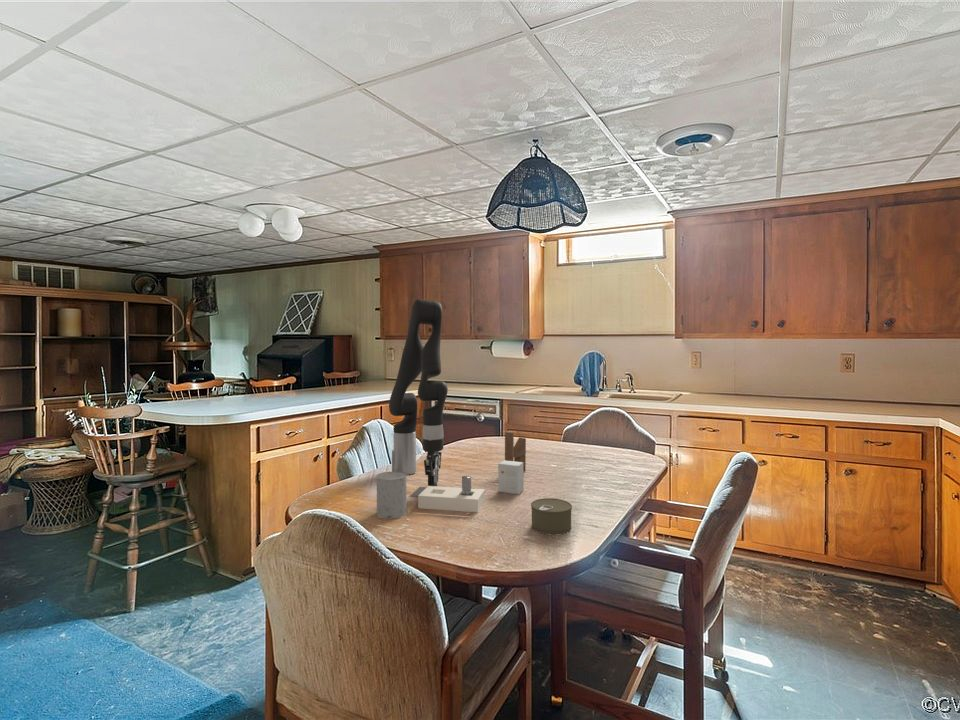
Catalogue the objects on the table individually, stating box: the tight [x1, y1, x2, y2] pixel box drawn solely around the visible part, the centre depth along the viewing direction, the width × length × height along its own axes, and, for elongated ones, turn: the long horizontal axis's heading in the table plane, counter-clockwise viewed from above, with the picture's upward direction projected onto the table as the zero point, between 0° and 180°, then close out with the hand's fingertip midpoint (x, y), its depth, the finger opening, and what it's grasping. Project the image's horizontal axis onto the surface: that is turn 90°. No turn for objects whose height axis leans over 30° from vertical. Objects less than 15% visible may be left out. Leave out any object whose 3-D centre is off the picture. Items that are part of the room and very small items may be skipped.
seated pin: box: [461, 475, 472, 496], centre depth 164 cm, size 3×3×10 cm
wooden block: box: [504, 430, 527, 473], centre depth 205 cm, size 4×11×18 cm, turn 137°
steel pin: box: [429, 465, 438, 486], centre depth 178 cm, size 3×3×10 cm
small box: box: [497, 459, 525, 495], centre depth 181 cm, size 8×6×10 cm
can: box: [530, 497, 573, 536], centre depth 146 cm, size 12×12×7 cm
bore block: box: [417, 485, 486, 514], centre depth 165 cm, size 20×11×4 cm, turn 78°
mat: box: [408, 486, 428, 498], centre depth 178 cm, size 14×12×1 cm
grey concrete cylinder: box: [375, 470, 408, 520], centre depth 158 cm, size 10×10×12 cm
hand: (433, 483), depth 178 cm, fingers open, 4 cm apart
